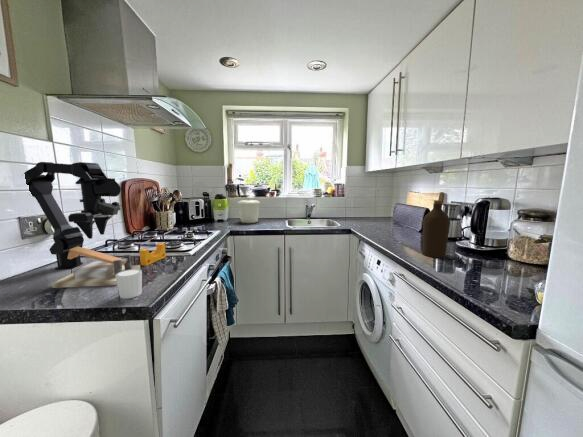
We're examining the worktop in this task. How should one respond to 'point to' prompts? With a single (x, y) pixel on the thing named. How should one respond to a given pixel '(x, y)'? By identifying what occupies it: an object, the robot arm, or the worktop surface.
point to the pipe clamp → (152, 255)
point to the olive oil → (435, 232)
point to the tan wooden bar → (93, 255)
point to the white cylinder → (129, 283)
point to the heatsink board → (87, 281)
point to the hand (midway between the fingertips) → (96, 236)
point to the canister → (248, 210)
